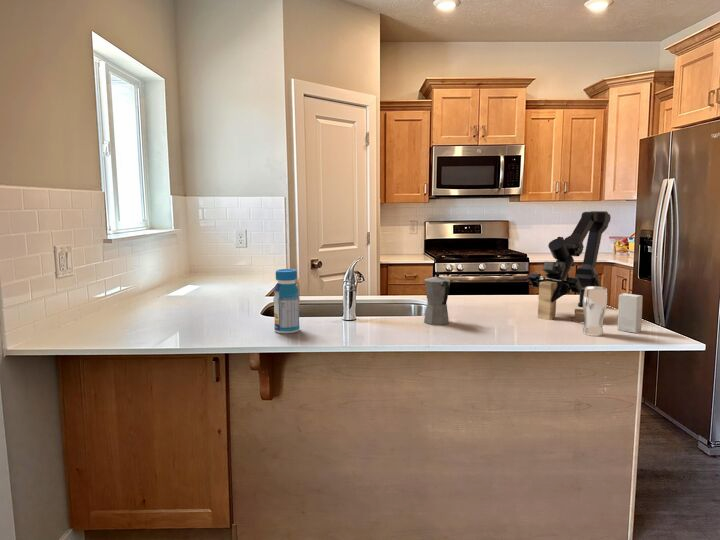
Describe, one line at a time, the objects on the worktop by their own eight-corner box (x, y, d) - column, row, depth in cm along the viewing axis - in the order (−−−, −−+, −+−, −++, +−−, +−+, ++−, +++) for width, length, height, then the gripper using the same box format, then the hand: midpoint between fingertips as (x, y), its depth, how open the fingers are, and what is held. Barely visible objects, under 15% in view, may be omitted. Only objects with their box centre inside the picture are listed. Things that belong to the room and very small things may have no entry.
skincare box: (641, 331, 167) (644, 295, 165) (635, 333, 164) (638, 296, 162) (622, 328, 172) (624, 292, 170) (616, 330, 169) (618, 294, 167)
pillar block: (543, 315, 190) (545, 280, 188) (555, 317, 187) (557, 282, 185) (537, 317, 187) (539, 282, 185) (549, 319, 184) (551, 283, 182)
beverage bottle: (289, 335, 161) (288, 272, 158) (268, 331, 165) (267, 270, 162) (305, 329, 168) (304, 269, 165) (284, 326, 172) (283, 267, 169)
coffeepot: (417, 319, 184) (417, 269, 182) (441, 317, 186) (442, 268, 184) (434, 329, 169) (435, 275, 167) (459, 327, 172) (461, 274, 169)
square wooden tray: (574, 316, 188) (575, 308, 188) (601, 319, 185) (601, 310, 184) (574, 322, 180) (574, 313, 180) (602, 324, 177) (603, 315, 176)
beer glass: (603, 337, 159) (606, 290, 157) (579, 334, 163) (582, 288, 161) (606, 332, 165) (609, 287, 163) (582, 330, 169) (585, 285, 167)
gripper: (531, 251, 193) (514, 283, 187) (580, 255, 180) (563, 289, 174) (541, 270, 200) (525, 301, 194) (588, 275, 186) (573, 309, 180)
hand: (545, 300), depth 185 cm, fingers closed on pillar block, 4 cm apart
